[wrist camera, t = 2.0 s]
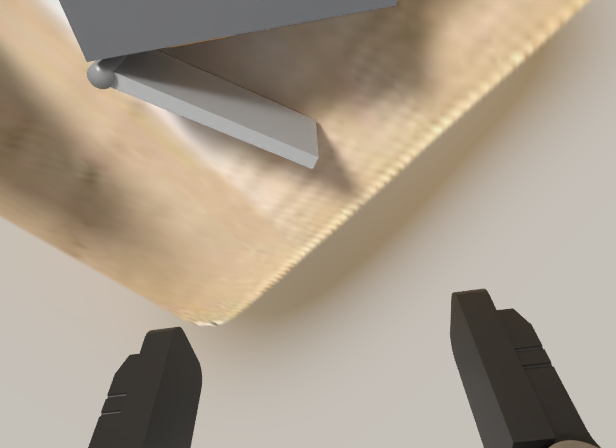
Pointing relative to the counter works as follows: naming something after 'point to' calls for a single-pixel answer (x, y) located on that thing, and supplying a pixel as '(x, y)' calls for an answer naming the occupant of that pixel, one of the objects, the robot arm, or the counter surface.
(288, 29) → the counter surface
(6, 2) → the counter surface
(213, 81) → the side door
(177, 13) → the camera body
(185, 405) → the robot arm
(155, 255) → the counter surface
